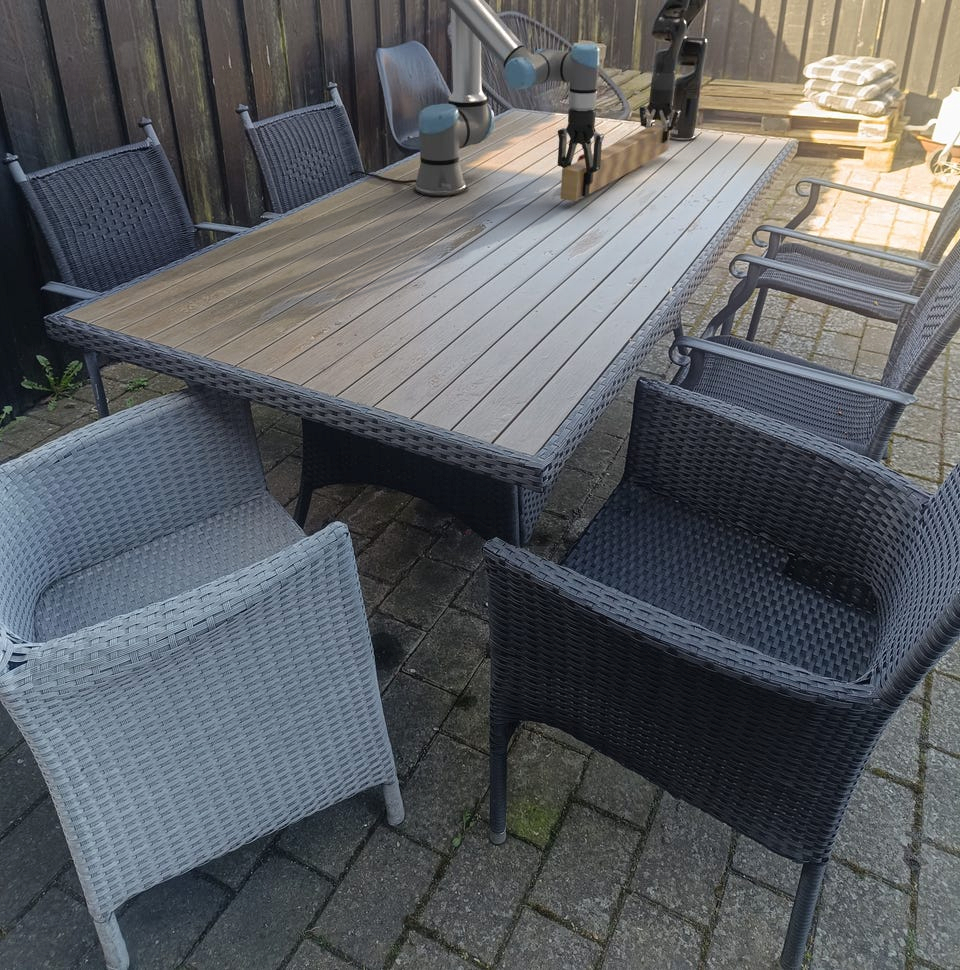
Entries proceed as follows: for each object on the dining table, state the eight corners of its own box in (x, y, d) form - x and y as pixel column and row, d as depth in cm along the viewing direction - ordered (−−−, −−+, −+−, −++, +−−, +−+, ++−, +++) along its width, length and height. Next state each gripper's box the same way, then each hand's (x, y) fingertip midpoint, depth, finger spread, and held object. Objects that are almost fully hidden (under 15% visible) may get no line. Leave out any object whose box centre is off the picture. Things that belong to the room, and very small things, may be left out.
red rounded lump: (591, 150, 280) (600, 156, 273) (591, 163, 282) (599, 169, 276) (576, 151, 279) (584, 158, 272) (575, 164, 281) (583, 171, 275)
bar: (575, 201, 240) (577, 171, 235) (560, 198, 242) (562, 168, 238) (668, 150, 287) (671, 124, 282) (654, 148, 289) (657, 122, 284)
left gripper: (618, 109, 230) (610, 195, 243) (559, 101, 238) (555, 185, 251) (606, 114, 225) (599, 202, 238) (546, 106, 233) (543, 192, 246)
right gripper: (688, 86, 271) (680, 142, 281) (646, 82, 278) (641, 136, 288) (679, 90, 266) (672, 146, 276) (637, 85, 273) (631, 141, 283)
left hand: (577, 193), depth 245 cm, fingers closed on bar, 5 cm apart
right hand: (656, 141), depth 282 cm, fingers closed on bar, 5 cm apart
